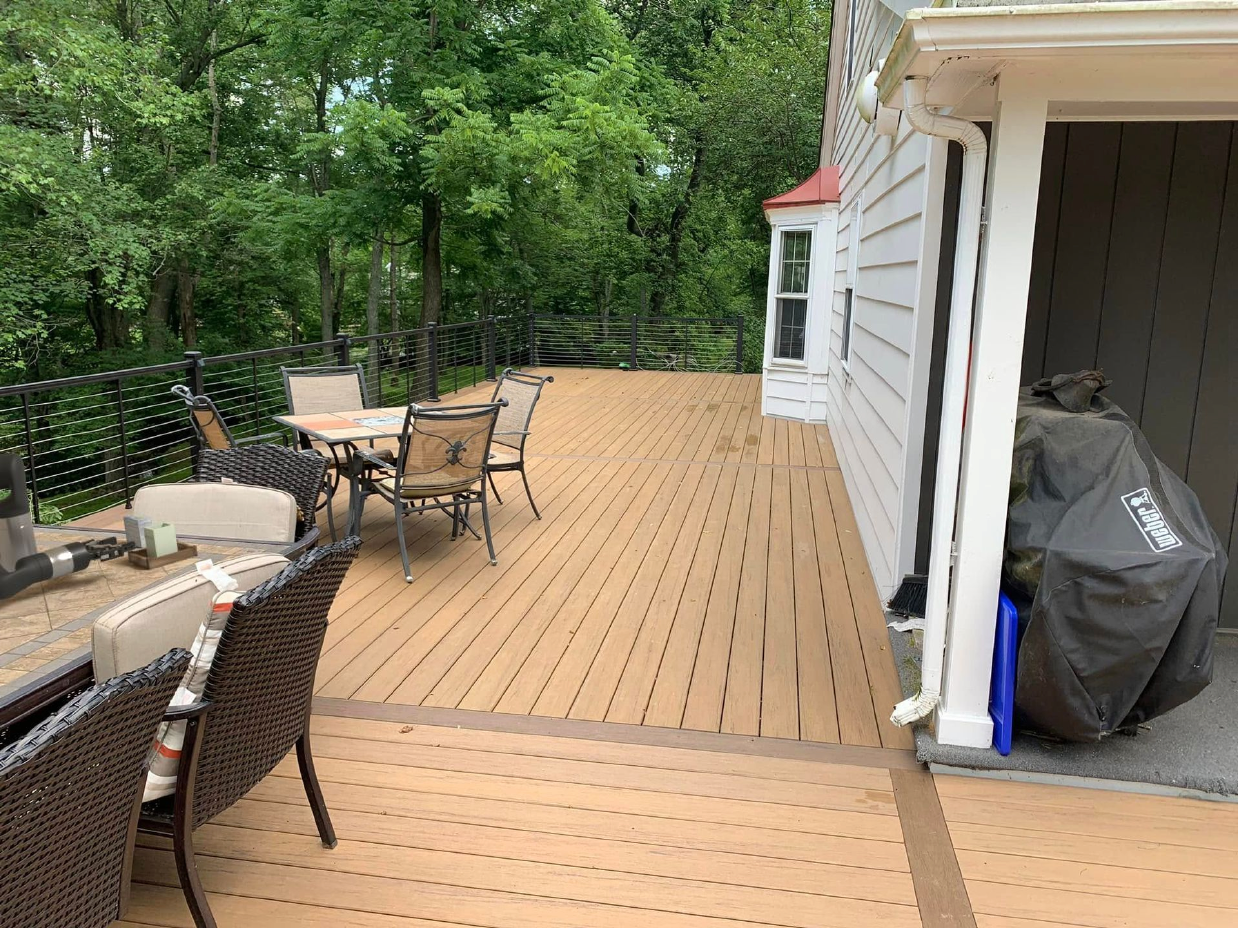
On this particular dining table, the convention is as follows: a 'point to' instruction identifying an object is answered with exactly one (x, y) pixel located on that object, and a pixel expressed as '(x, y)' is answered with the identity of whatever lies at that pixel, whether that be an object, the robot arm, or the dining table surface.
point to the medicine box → (136, 528)
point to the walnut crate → (151, 563)
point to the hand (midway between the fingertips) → (125, 542)
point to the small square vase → (160, 539)
